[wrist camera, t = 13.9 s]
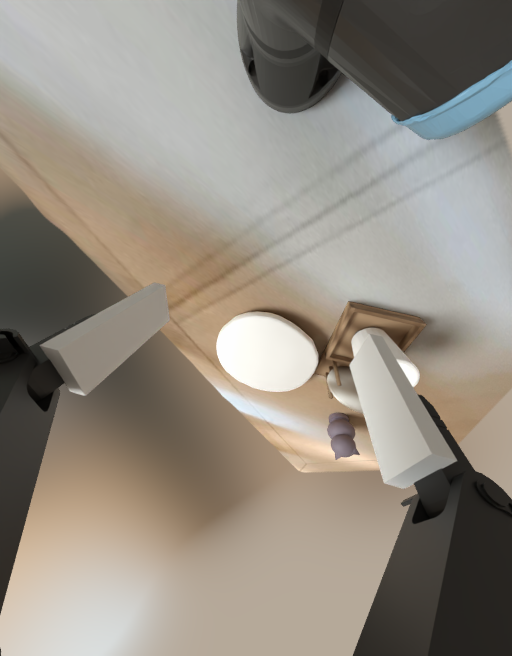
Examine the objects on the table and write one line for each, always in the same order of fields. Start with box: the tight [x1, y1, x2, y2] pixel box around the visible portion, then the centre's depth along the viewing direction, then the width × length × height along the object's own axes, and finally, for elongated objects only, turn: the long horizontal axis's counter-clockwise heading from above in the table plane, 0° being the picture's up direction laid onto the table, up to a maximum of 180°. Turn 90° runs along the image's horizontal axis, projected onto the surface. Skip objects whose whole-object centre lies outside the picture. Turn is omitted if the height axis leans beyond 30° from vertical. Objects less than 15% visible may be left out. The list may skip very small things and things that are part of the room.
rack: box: [315, 301, 427, 414], centre depth 43 cm, size 23×15×14 cm
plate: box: [217, 311, 318, 392], centre depth 53 cm, size 28×6×27 cm
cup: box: [351, 327, 420, 387], centre depth 40 cm, size 10×10×13 cm
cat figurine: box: [327, 413, 360, 460], centre depth 60 cm, size 8×8×12 cm
